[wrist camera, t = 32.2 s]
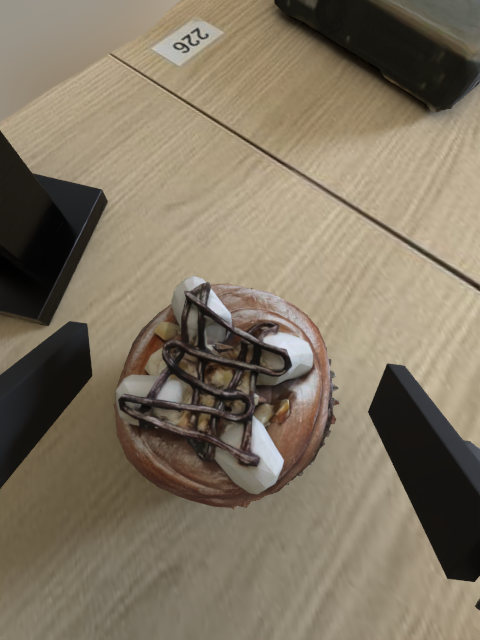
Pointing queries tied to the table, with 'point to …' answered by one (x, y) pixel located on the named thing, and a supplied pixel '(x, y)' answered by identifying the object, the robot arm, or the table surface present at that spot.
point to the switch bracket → (40, 236)
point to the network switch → (405, 41)
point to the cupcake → (225, 395)
